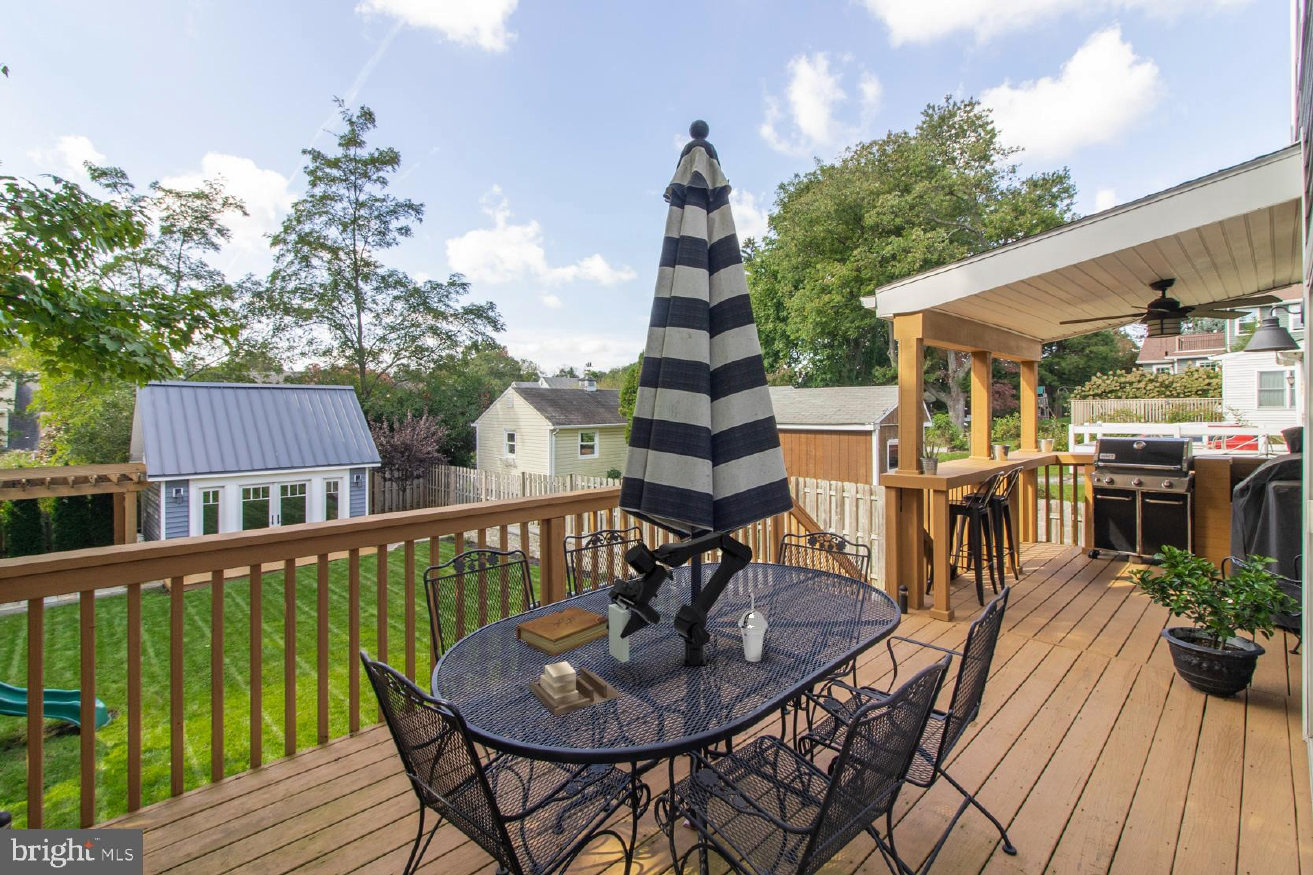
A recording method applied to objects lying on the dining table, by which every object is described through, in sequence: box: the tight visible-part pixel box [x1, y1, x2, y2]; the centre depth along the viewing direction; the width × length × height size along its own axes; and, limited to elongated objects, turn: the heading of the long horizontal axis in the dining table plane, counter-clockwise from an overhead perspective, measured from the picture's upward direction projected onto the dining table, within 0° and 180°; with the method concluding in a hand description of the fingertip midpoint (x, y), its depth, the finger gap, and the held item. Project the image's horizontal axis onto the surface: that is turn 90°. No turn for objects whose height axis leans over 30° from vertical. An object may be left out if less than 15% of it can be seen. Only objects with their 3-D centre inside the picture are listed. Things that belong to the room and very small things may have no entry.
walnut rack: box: [529, 666, 624, 717], centre depth 146 cm, size 18×16×4 cm
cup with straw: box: [737, 592, 769, 663], centre depth 167 cm, size 8×9×20 cm
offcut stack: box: [539, 661, 578, 706], centre depth 143 cm, size 7×9×7 cm
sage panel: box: [608, 603, 630, 663], centre depth 152 cm, size 2×7×13 cm, turn 33°
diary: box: [515, 606, 609, 657], centre depth 185 cm, size 23×19×6 cm
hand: (614, 633), depth 152 cm, fingers closed on sage panel, 7 cm apart
